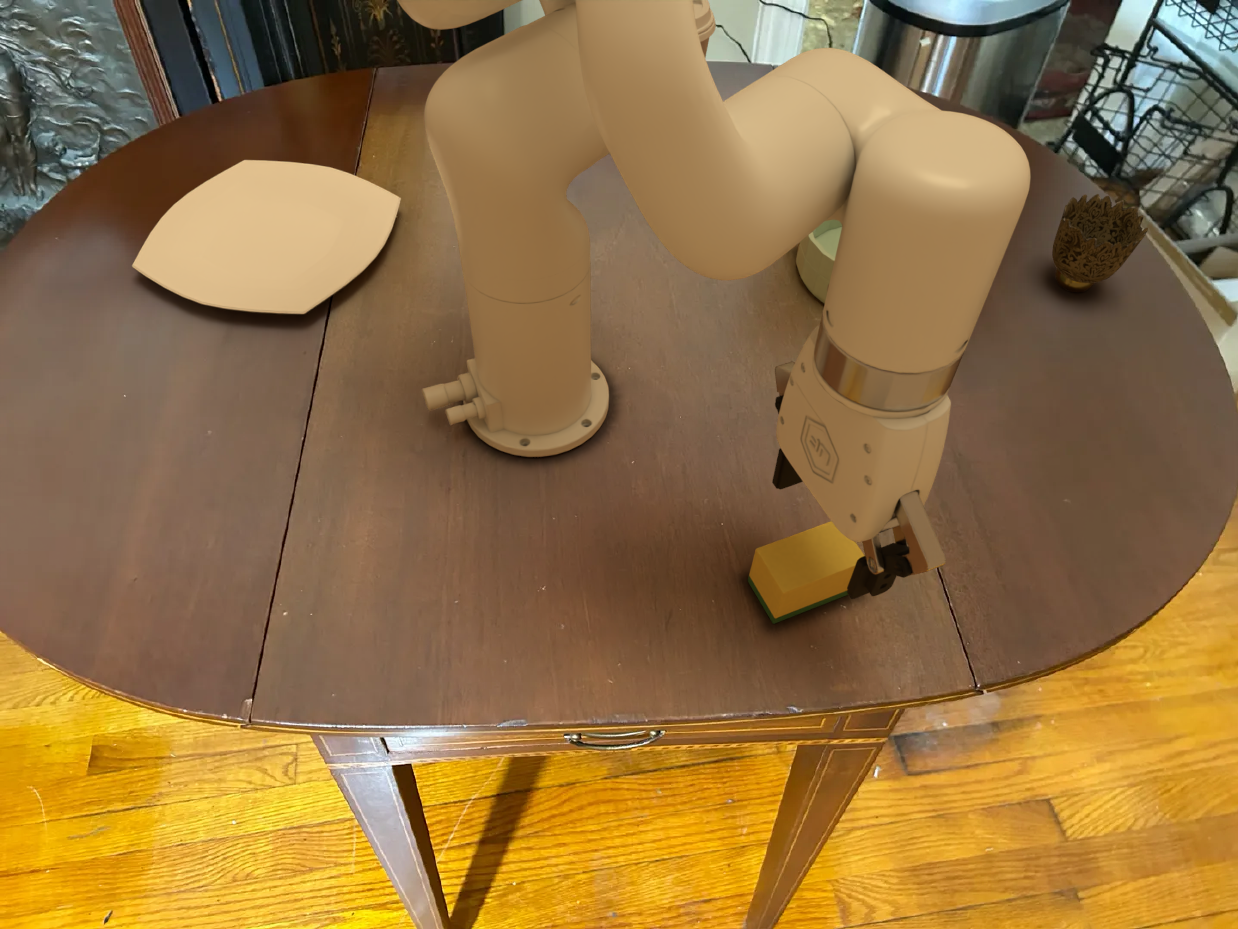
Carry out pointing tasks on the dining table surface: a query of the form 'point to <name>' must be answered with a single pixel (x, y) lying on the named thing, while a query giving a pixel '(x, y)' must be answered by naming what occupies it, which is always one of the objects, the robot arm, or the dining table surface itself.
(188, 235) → the plate
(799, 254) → the bowl
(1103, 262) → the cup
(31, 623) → the dining table surface
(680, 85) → the robot arm
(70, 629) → the dining table surface
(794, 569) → the sponge
